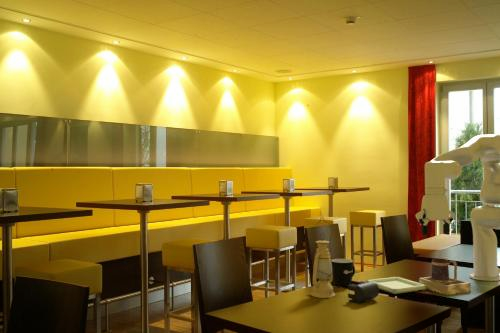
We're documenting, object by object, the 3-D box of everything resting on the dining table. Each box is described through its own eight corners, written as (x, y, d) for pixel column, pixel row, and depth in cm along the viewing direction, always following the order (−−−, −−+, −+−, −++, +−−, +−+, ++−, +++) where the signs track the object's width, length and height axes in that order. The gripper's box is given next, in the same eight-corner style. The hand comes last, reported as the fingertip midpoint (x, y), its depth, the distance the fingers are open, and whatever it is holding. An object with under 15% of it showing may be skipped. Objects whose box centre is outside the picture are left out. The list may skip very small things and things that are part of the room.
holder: (442, 283, 210) (441, 275, 210) (470, 291, 196) (470, 282, 196) (419, 286, 205) (419, 278, 205) (446, 294, 191) (446, 285, 191)
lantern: (321, 290, 201) (321, 215, 201) (342, 294, 194) (341, 216, 194) (302, 295, 192) (301, 217, 192) (323, 300, 185) (322, 219, 185)
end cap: (363, 305, 177) (363, 286, 177) (347, 302, 183) (347, 283, 183) (379, 300, 184) (379, 282, 184) (363, 297, 189) (363, 279, 189)
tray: (397, 280, 216) (397, 276, 216) (426, 289, 200) (426, 285, 200) (366, 284, 210) (366, 280, 210) (394, 293, 194) (394, 289, 194)
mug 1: (343, 288, 204) (343, 263, 204) (327, 284, 211) (326, 260, 211) (362, 284, 211) (362, 260, 211) (346, 280, 218) (346, 257, 218)
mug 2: (427, 288, 202) (427, 258, 202) (435, 285, 207) (435, 256, 207) (452, 292, 194) (452, 262, 194) (460, 289, 199) (460, 259, 199)
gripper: (448, 191, 207) (448, 232, 207) (410, 192, 203) (411, 234, 203) (459, 192, 200) (460, 235, 199) (421, 193, 196) (421, 236, 195)
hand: (435, 234), depth 201 cm, fingers open, 9 cm apart
